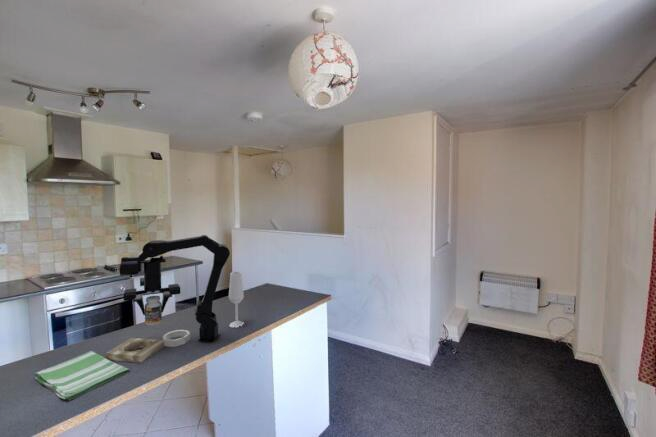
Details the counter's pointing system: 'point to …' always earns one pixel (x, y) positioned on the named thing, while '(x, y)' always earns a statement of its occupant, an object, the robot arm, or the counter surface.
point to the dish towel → (80, 375)
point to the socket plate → (136, 356)
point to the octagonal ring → (176, 342)
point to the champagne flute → (236, 295)
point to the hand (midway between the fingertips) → (153, 313)
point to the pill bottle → (153, 310)
